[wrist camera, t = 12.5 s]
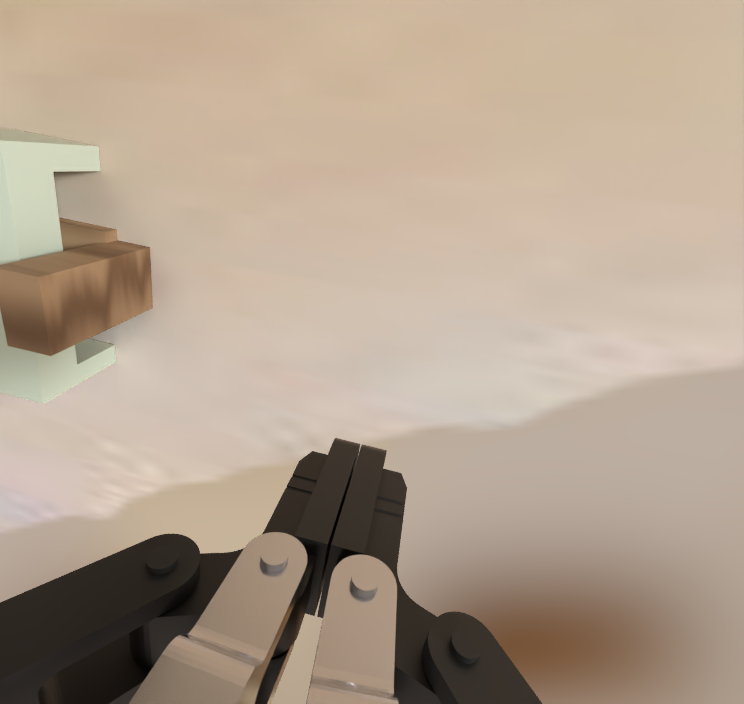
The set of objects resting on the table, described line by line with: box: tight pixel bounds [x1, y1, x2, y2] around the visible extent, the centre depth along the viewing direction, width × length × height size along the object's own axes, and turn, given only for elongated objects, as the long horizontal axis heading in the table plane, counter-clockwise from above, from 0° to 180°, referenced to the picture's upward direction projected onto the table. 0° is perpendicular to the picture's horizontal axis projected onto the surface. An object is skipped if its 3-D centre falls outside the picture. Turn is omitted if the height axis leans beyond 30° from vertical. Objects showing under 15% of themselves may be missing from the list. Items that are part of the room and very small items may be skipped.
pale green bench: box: [0, 128, 116, 404], centre depth 38 cm, size 21×8×9 cm, turn 170°
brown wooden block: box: [0, 218, 153, 356], centre depth 36 cm, size 8×15×12 cm, turn 80°
